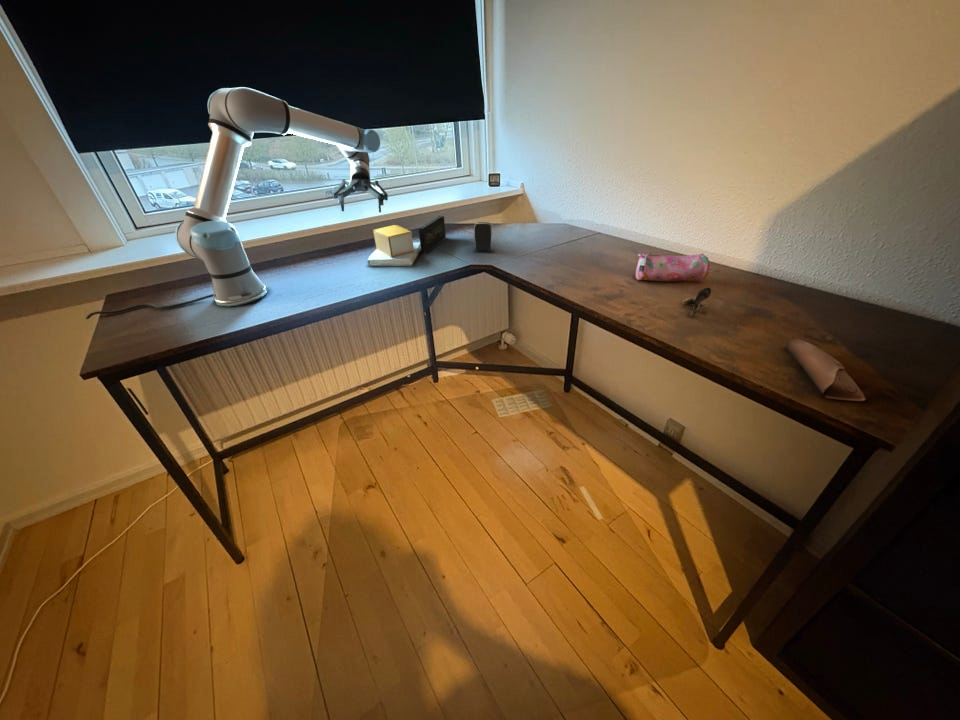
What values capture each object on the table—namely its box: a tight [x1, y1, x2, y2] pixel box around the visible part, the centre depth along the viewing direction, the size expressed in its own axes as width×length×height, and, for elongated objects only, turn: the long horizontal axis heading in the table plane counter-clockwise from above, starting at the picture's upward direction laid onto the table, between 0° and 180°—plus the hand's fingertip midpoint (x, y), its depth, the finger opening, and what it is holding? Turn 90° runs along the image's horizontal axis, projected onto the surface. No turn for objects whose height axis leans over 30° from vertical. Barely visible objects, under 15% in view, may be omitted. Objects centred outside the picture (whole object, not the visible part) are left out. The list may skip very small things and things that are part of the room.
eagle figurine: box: [682, 287, 712, 317], centre depth 106 cm, size 8×7×9 cm
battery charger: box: [473, 221, 493, 253], centre depth 153 cm, size 7×4×11 cm, turn 82°
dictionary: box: [372, 224, 414, 258], centre depth 150 cm, size 13×10×8 cm
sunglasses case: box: [785, 338, 867, 402], centre depth 82 cm, size 18×7×7 cm, turn 167°
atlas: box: [366, 241, 421, 267], centre depth 153 cm, size 17×20×3 cm
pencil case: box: [635, 252, 710, 283], centre depth 123 cm, size 21×9×9 cm, turn 81°
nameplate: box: [418, 215, 447, 253], centre depth 161 cm, size 21×2×10 cm, turn 161°
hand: (361, 208), depth 142 cm, fingers open, 13 cm apart
